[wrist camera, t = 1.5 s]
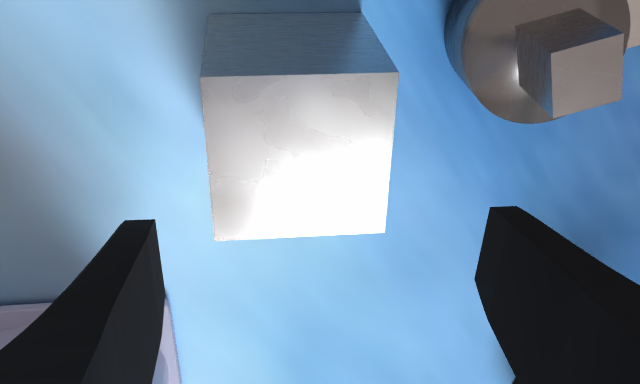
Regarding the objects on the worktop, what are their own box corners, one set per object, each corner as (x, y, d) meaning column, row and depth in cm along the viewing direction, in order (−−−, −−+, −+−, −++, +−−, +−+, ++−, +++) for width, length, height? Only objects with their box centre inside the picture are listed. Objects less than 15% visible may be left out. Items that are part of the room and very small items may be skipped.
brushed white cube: (219, 151, 22) (214, 241, 18) (208, 13, 20) (199, 76, 15) (354, 146, 23) (384, 232, 18) (361, 12, 20) (398, 72, 15)
